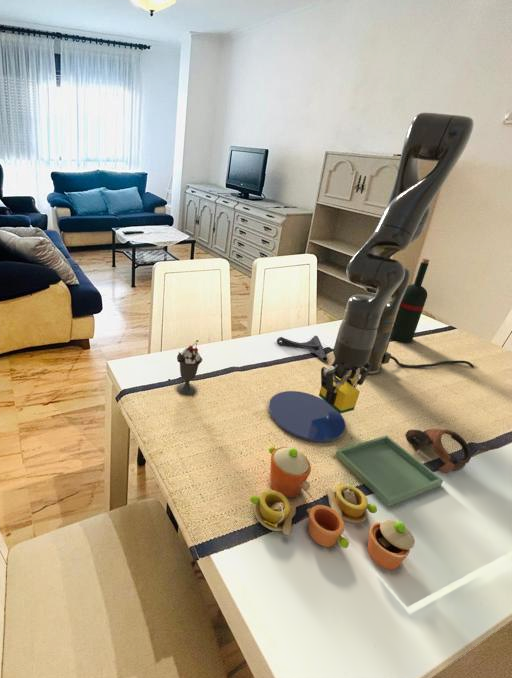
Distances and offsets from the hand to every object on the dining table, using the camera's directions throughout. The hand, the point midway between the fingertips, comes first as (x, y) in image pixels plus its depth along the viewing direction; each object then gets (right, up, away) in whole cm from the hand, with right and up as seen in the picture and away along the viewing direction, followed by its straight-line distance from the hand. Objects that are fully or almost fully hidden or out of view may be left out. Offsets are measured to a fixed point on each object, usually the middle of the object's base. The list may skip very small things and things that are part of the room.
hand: (337, 400), depth 94 cm
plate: (-7, -5, +3) cm, 9 cm away
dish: (+4, -12, -12) cm, 17 cm away
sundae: (-36, 0, +11) cm, 38 cm away
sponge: (0, -1, +1) cm, 1 cm away
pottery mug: (+18, -11, -7) cm, 22 cm away
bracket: (+4, +7, +36) cm, 37 cm away
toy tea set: (-14, -15, -23) cm, 31 cm away
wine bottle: (+44, +9, +46) cm, 65 cm away
